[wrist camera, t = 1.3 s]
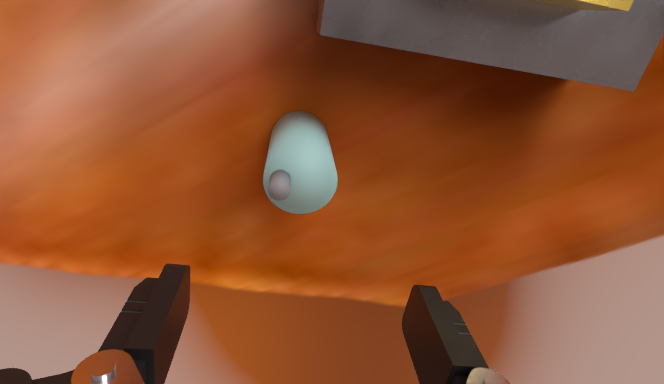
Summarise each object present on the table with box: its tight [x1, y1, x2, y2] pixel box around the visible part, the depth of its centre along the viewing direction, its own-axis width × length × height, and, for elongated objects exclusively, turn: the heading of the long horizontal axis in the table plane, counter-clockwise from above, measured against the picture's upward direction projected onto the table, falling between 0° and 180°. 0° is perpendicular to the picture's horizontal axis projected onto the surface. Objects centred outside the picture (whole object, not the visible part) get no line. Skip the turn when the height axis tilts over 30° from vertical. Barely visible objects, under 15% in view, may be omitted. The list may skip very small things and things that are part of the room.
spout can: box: [263, 111, 338, 214], centre depth 25 cm, size 4×4×10 cm
